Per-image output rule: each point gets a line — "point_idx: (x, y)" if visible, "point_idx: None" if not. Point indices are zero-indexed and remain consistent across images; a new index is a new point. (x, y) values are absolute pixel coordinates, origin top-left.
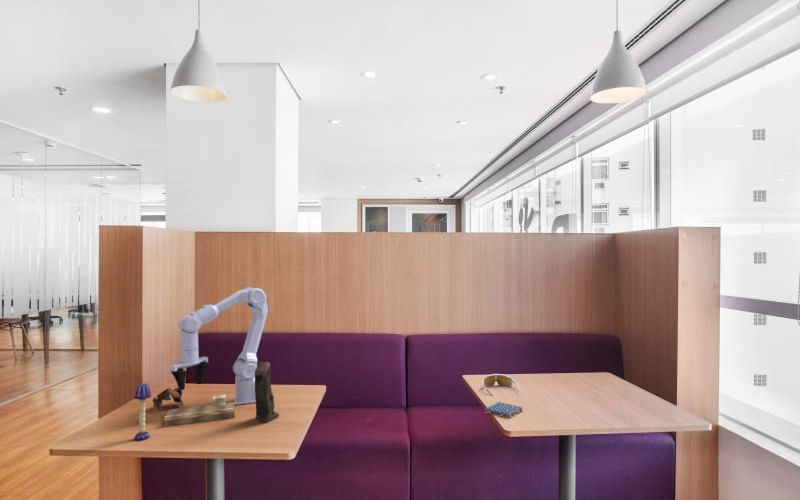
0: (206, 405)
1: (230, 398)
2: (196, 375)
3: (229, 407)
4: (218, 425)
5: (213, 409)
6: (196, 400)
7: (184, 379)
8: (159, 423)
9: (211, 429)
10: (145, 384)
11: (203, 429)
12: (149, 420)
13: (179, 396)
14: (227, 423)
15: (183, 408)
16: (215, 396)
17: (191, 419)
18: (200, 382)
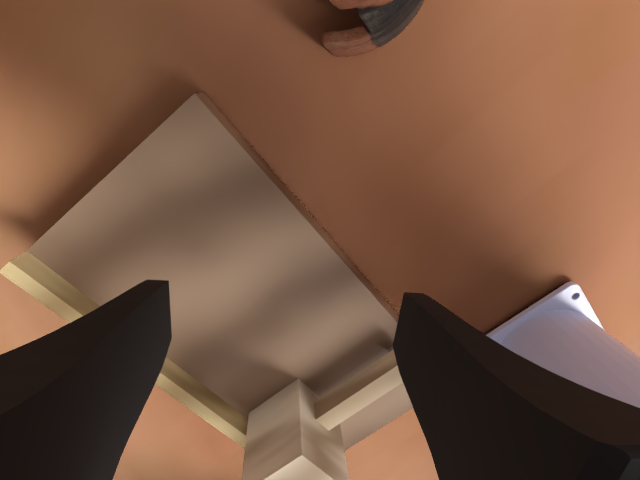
0: (355, 289)
1: (588, 241)
2: (449, 351)
3: (357, 419)
4: (198, 453)
5: (248, 432)
6: (543, 25)
7: (104, 469)
8: (58, 164)
9: (148, 460)
10: None
11: (130, 435)
12: (51, 29)
13: (393, 3)
14: (233, 467)
15: (255, 188)
16: (292, 475)
17: None
18: (397, 358)
